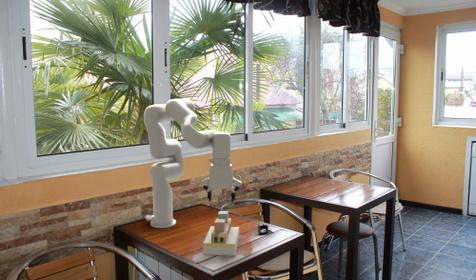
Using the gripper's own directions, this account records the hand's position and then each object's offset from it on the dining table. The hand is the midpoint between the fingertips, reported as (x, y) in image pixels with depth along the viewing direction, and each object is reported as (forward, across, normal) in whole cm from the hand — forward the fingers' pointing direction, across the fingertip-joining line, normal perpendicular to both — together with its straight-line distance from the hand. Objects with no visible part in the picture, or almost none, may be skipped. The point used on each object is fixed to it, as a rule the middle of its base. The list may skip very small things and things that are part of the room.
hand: (221, 200), depth 170 cm
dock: (+20, 0, 0) cm, 20 cm away
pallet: (+15, 0, 0) cm, 15 cm away
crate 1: (+11, 0, +6) cm, 12 cm away
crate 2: (+11, 0, -6) cm, 12 cm away
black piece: (+21, +18, +17) cm, 32 cm away
